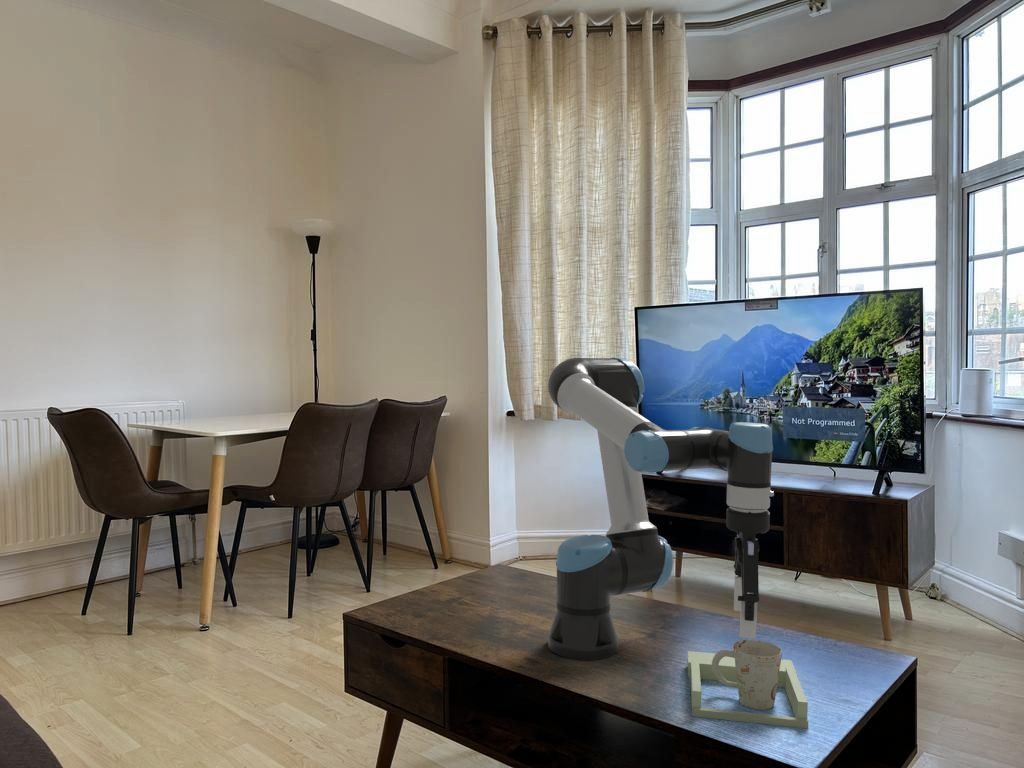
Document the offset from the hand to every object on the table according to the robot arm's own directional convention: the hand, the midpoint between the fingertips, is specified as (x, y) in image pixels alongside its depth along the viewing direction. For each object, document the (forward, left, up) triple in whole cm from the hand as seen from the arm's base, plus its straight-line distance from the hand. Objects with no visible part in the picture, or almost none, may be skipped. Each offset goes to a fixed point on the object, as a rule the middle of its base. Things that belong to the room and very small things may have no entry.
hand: (744, 623), depth 136 cm
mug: (0, 0, -14) cm, 14 cm away
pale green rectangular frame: (0, +2, -14) cm, 14 cm away
